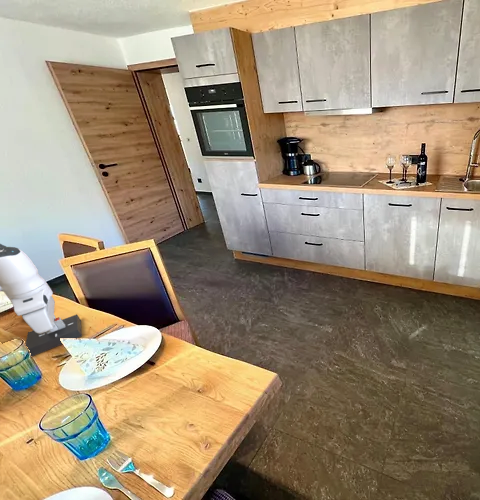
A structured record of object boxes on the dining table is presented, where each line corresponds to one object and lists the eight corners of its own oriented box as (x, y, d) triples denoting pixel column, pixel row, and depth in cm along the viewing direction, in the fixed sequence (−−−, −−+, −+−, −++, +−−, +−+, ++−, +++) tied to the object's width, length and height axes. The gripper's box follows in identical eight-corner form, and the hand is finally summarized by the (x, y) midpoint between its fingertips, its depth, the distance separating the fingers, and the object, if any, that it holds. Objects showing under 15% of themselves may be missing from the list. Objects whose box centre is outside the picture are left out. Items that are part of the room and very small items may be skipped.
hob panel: (29, 357, 92) (24, 350, 90) (32, 338, 99) (27, 331, 98) (82, 336, 99) (77, 329, 97) (81, 320, 106) (76, 313, 105)
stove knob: (47, 334, 96) (41, 325, 94) (47, 331, 97) (41, 323, 96) (65, 327, 99) (59, 318, 97) (65, 324, 100) (59, 316, 98)
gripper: (21, 285, 96) (44, 317, 103) (13, 314, 83) (40, 349, 89) (46, 277, 100) (67, 309, 106) (43, 304, 86) (67, 338, 93)
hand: (55, 327), depth 98 cm, fingers closed on stove knob, 2 cm apart
